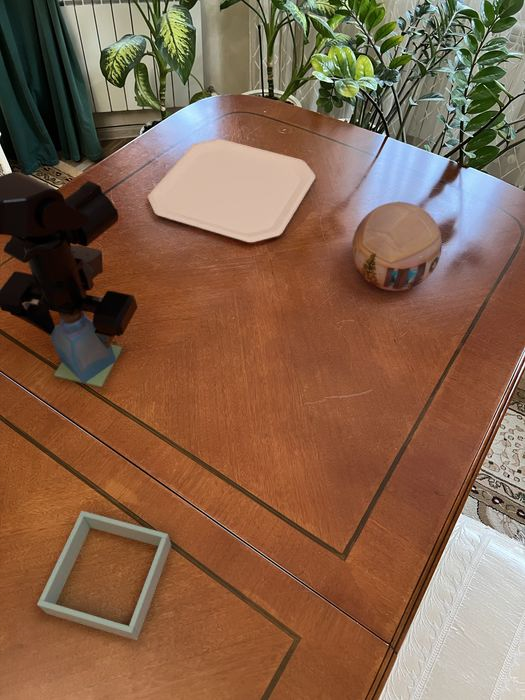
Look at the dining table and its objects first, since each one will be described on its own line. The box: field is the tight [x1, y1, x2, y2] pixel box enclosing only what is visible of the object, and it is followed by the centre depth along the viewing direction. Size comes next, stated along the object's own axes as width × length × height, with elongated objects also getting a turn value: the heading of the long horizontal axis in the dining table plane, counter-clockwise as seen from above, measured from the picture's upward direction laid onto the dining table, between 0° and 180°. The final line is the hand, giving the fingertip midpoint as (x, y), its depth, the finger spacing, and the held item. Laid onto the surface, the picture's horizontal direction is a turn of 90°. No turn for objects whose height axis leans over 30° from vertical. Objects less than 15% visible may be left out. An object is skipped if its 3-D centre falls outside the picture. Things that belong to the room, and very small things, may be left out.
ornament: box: [351, 201, 443, 292], centre depth 98 cm, size 15×15×15 cm
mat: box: [53, 344, 123, 389], centre depth 91 cm, size 8×8×1 cm
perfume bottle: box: [49, 310, 117, 384], centre depth 86 cm, size 6×6×12 cm
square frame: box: [36, 510, 172, 641], centre depth 69 cm, size 12×12×4 cm
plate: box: [147, 138, 316, 244], centre depth 118 cm, size 29×29×2 cm
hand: (81, 339), depth 87 cm, fingers open, 9 cm apart
